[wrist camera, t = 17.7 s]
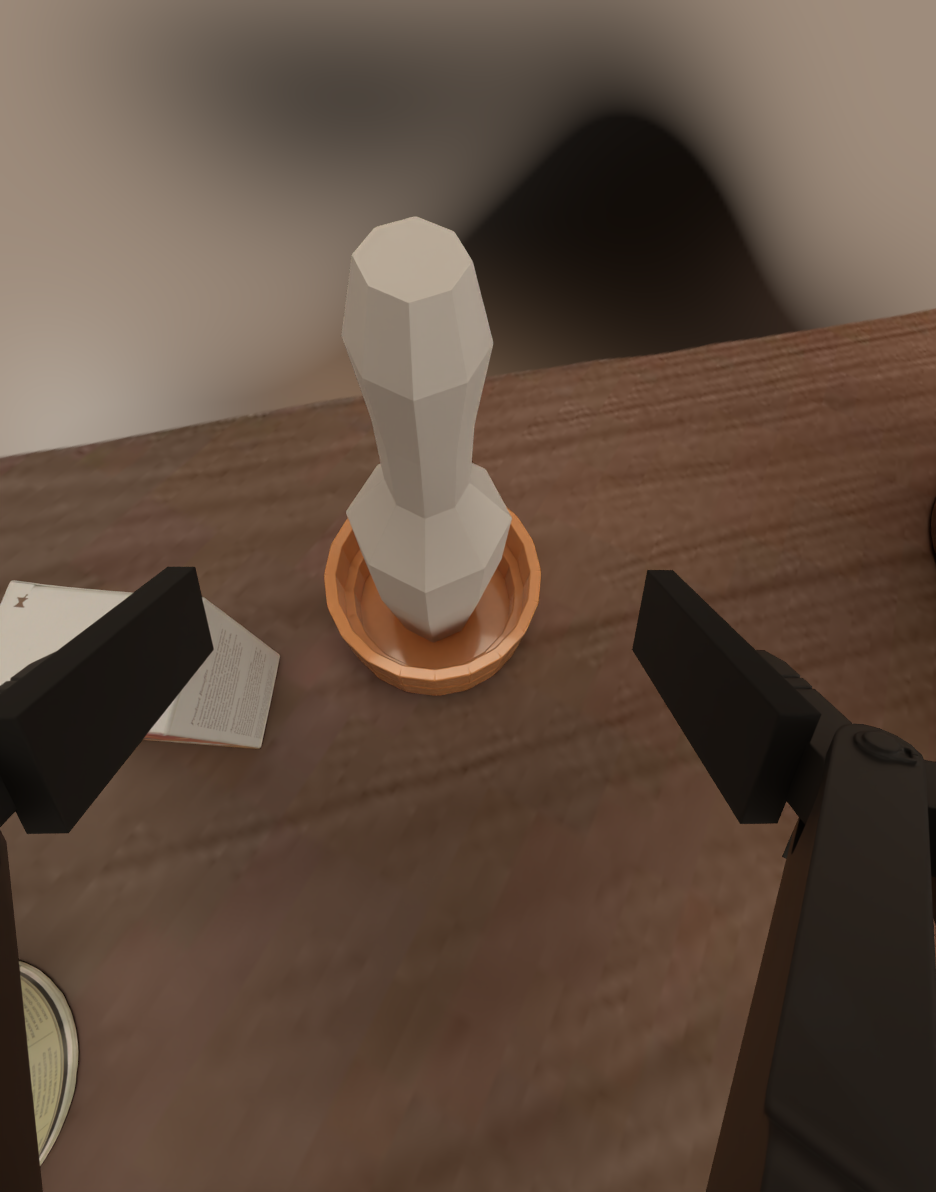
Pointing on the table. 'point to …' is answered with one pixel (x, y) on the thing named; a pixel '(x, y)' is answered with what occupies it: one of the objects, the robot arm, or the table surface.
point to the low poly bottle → (423, 425)
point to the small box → (204, 706)
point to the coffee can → (48, 1053)
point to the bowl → (453, 657)
